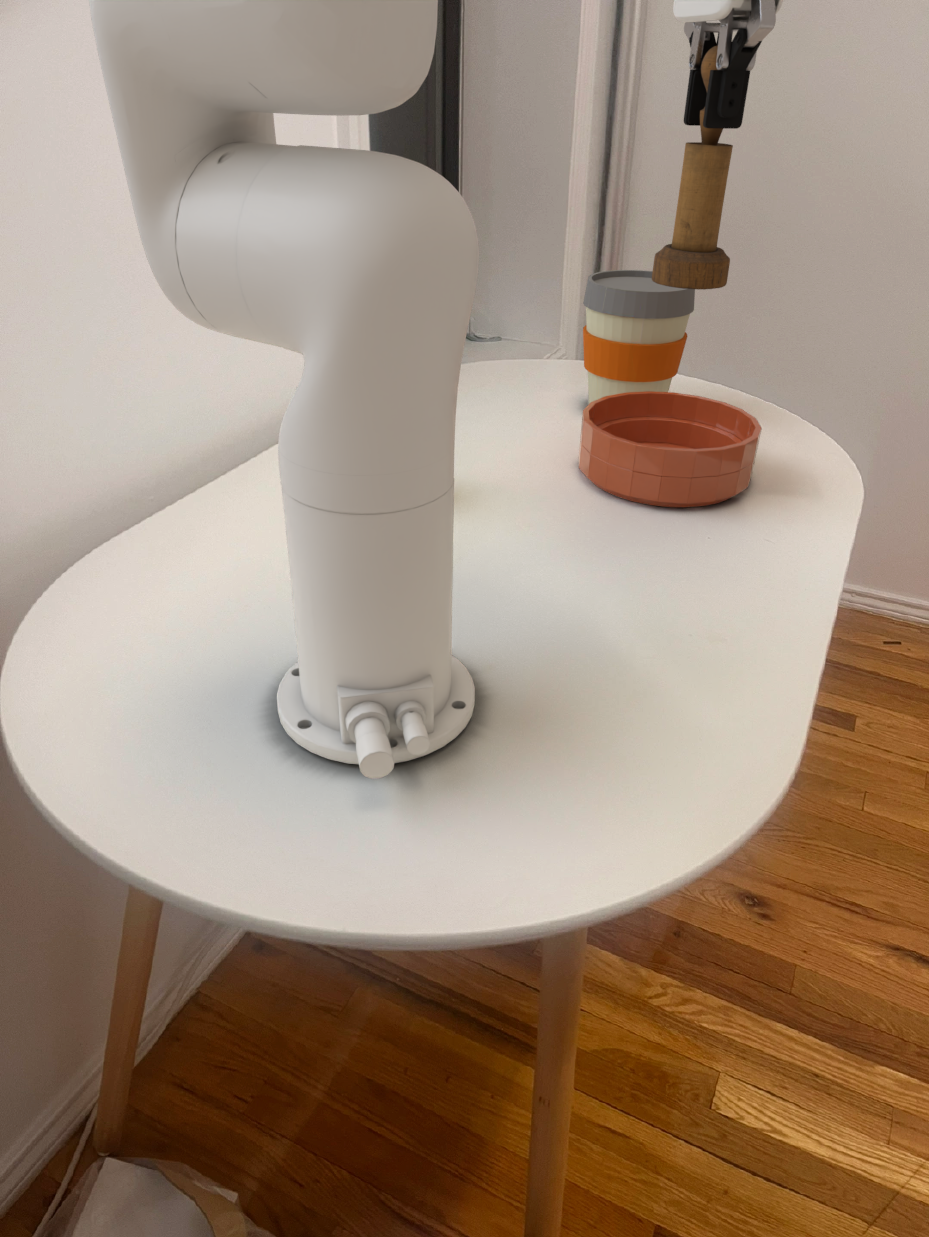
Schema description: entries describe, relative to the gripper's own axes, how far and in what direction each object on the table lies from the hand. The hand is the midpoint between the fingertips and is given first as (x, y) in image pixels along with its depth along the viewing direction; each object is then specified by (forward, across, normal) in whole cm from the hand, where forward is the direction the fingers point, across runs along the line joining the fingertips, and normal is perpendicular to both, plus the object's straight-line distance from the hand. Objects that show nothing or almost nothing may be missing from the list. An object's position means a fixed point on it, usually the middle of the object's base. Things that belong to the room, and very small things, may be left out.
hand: (711, 124), depth 73 cm
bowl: (+31, 0, 0) cm, 31 cm away
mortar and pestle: (+13, 0, 0) cm, 13 cm away
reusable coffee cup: (+32, -20, +4) cm, 38 cm away
